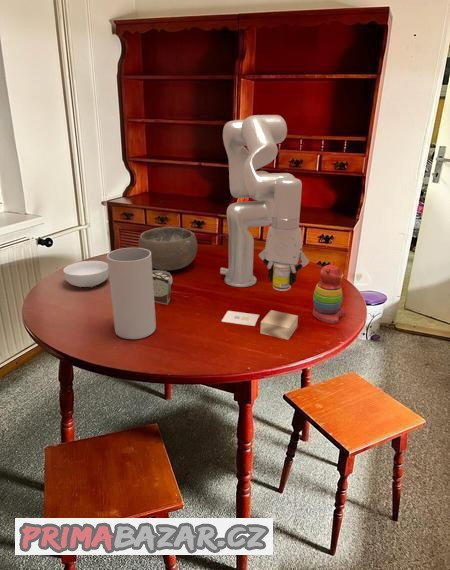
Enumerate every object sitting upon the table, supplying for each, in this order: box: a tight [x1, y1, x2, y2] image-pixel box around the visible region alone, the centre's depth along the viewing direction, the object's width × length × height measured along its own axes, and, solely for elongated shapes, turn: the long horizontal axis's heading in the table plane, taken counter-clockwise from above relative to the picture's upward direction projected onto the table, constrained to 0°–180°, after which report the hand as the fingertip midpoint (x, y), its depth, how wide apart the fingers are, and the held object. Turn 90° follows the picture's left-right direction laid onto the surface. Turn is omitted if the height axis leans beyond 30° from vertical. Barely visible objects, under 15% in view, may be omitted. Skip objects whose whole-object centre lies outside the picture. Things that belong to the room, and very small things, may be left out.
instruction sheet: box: [221, 310, 260, 327], centre depth 142 cm, size 11×8×1 cm
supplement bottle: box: [272, 262, 292, 292], centre depth 127 cm, size 6×6×10 cm
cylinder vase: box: [106, 247, 157, 340], centre depth 129 cm, size 12×12×25 cm
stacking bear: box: [311, 262, 346, 325], centre depth 141 cm, size 11×10×18 cm
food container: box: [152, 269, 173, 305], centre depth 154 cm, size 12×6×10 cm, turn 65°
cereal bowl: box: [62, 260, 109, 288], centre depth 167 cm, size 17×17×7 cm
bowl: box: [138, 226, 198, 272], centre depth 183 cm, size 24×24×15 cm
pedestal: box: [259, 309, 299, 341], centre depth 134 cm, size 9×9×4 cm
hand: (281, 281), depth 128 cm, fingers closed on supplement bottle, 5 cm apart
